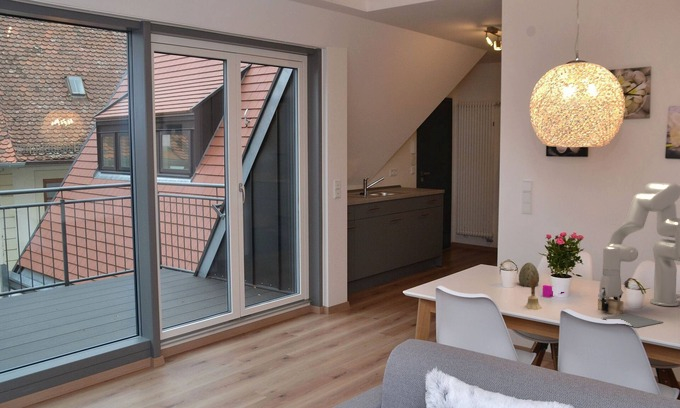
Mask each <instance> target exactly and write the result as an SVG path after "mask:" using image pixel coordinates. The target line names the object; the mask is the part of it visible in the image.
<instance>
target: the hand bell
mask: <svg viewBox="0 0 680 408" xmlns="http://www.w3.org/2000/svg"><path fill="white" fill-rule="evenodd" d="M530 285H531V287H530V288H531V290H530V292H531V293H530V294H531V295H530V296H528V299H527V303H526V305H524V308H525V309H527V310H542V309H543V307H542V306H541V305H540V302H539V297H537V296H536V289H535V288H536V287H537V286H536V280H535V276H532V277H531V280H530ZM535 286H536V287H535Z"/></svg>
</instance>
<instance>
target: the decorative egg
mask: <svg viewBox="0 0 680 408" xmlns="http://www.w3.org/2000/svg"><path fill="white" fill-rule="evenodd" d="M532 276H535V280H536V286H535V288H536V287H537V286H538V285H539V282H540V274H539V271H538V269H537V267H536V266H535V265H534V264H533V263H532V262H527V263H525V264H523V265H522V266H521V269H520V271H519V274H518V281H519V284H520V286H521V287H525V288H531V285H530V280H531V277H532Z"/></svg>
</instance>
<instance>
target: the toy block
mask: <svg viewBox="0 0 680 408" xmlns="http://www.w3.org/2000/svg"><path fill="white" fill-rule="evenodd" d="M552 287H553V286H552V285H547V284H543V285H542V297H545V298H548V299H550V298H552V297H554V296H553V291H552Z"/></svg>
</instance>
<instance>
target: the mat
mask: <svg viewBox="0 0 680 408" xmlns="http://www.w3.org/2000/svg"><path fill="white" fill-rule="evenodd" d="M602 318H603V319H602V320H604V319H621V320H624V321H626V322H628V323H630V324H631V325H632V326H633V327H632V328H634V329H639V328H644V327H645V328H646V327H649V326H654V325H658V324H659V325H660V324H663V323H664V321H661V320H658V319H657V320H656V319H652V318H649V317H645V316H641V315H636V314H634V313H633V314H632V313H628V312H625V313H622V314H618V315H614V314H613V315H610V316H603V317H602Z"/></svg>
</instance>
